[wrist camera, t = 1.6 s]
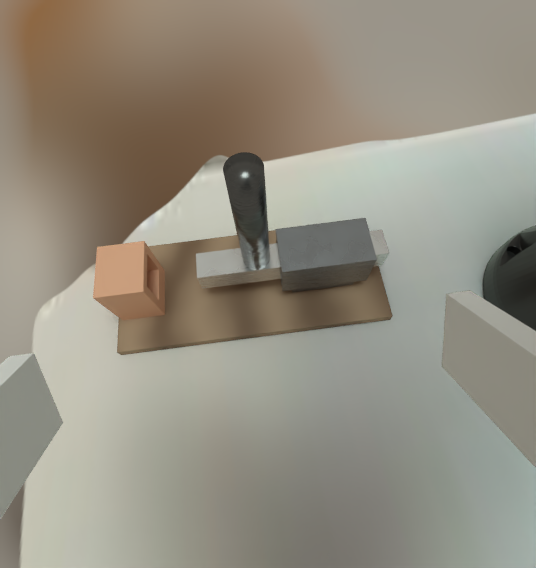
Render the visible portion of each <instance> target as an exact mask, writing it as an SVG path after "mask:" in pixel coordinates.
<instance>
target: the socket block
mask: <svg viewBox="0 0 536 568" xmlns="http://www.w3.org/2000/svg"><path fill="white" fill-rule="evenodd" d="M93 298H94V299H95V300H96V301H98V302H99V303H100V304H102V305H103V306H104V307H106V308H107V309H108V310H110V311H111V312H112V313H114V314H115V315H116V316H118V317H119V318H120V319H122V320H129V319H137V318H145V317H152V316H160V315H165V270H164V269H163V267H162V266H161V265H160V263H159V262H158V260H157V259H156V257H155V256H154V254H153V253H152V252H151V250H150V249H149V247H148V246H147V244H146V243H145V241H141V242H133V243H125V244H118V245H110V246H102V247H97V257H96V268H95V281H94V294H93Z"/></svg>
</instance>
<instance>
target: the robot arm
mask: <svg viewBox="0 0 536 568" xmlns="http://www.w3.org/2000/svg"><path fill="white" fill-rule="evenodd" d="M483 290H484V297H485V299H483V298H481V297H480V296H478V295H476V294H475V293H473V292H472V291H470V290H469V291H462V292H455V293H448V294H446V309H445V324H444V340H443V356H442V367H443V368H444V369H445V370H446V371H447V372H448V373H449V375H450V376H451V377H452V378H453V379H454V380H455V381H456V382H457V383H458V384H459V385H460V386H461V387H462V389H463V390H464V391H465V392H466V393H467V394H468V395H469V396H470V397H471V398H472V399H473V400H474V402H475V403H476V404H477V405H478V406H479V407H480V408H481V409H482V410H483V411H484V412H485V413H486V414H487V416H488V417H489V418H490V419H491V420H492V421H493V422H494V423H495V424H496V425H497V426H498V427H499V428H500V430H501V431H502V432H503V433H504V434H505V435H506V436H507V437H508V438H509V439H510V440H511V441H512V443H513V444H514V445H515V446H516V447H517V448H518V449H519V450H520V451H521V452H522V453H523V454H524V455H525V457H526V458H527V459H528V460H529V461H530V462H531V463H532V464H533V465H534V466H535V467H536V225H535V226H532V227H530V228H527V229H525V230H523V231H521V232H520V233H518V234H516V235H515V236H513V237H512V238H511V239H510V240H509V241H507V242H506V243H505V244H504V245H503V246H502V247H501V248H499V249H498V250H497V251H496V252H495V254H494V255H493V256H492V258H491V259H490V261H489V263H488V265H487V267H486V270H485V274H484V282H483ZM62 423H63V421H62V419H61V417H60V414H59V412H58V409H57V407H56V405H55V402H54V400H53V397H52V395H51V393H50V390H49V388H48V385H47V383H46V381H45V378H44V376H43V374H42V371H41V369H40V366H39V364H38V362H37V359H36V357H35V354H34V353H30V354H23V355H16V356H9V357H8V358H7V359H6V360H5V361H4V362H2V363H1V364H0V519H1V518H2V516H3V514H4V513H5V511H6V510H7V508H8V507H9V505H10V504H11V502H12V500H13V499H14V498H15V496H16V494H17V493H18V491H19V490H20V488H21V486H22V485H23V484H24V482H25V481H26V479H27V477H28V476H29V474H30V473H31V471H32V470H33V468H34V467H35V465H36V464H37V462H38V460H39V459H40V457H41V456H42V454H43V453H44V451H45V450H46V448H47V447H48V445H49V443H50V442H51V440H52V439H53V437H54V436H55V434H56V433H57V431H58V430H59V428H60V426H61V425H62Z"/></svg>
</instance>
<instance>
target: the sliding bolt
mask: <svg viewBox="0 0 536 568" xmlns="http://www.w3.org/2000/svg"><path fill="white" fill-rule="evenodd" d="M223 172H224V176H225V181H226V185H227V190H228V195H229V199H230V204H231V208H232V213H233V217H234V222H235V226H236V231H237V235H238V240H239V245H240V248H236V249H228V250H220V251H213V252H205V253H197V254H196V267H197V279H198V281H199V283H200V284H201V286H202V288H203V289H204V288H212V287H220V286H228V285H235V284H243V283H251V282H259V281H266V280H274V279H282V269H281V263H280V256H279V250H278V243H275V244H269V235H268V220H267V205H266V191H265V176H264V164H263V162H262V160H261V159H260V158H259V157H258V156H256V155H254V154H252V153H238V154H235V155H233V156H231V157H230V158H228V159H227V161H226V162H225V164H224V167H223ZM369 232H370V236H371V240H372V243H373V247H374V250H375V254H376V257H377V261H376V263H375V265H374V267H375V266H382V265H383V263H384V261H385V260H386V258H387V256H388V254H389V251H388V248H387V245H386V241H385V238H384V234H383V231H382V230H377V231H369Z"/></svg>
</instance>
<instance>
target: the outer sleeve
mask: <svg viewBox="0 0 536 568" xmlns="http://www.w3.org/2000/svg"><path fill="white" fill-rule="evenodd" d="M276 243H278V250H279V256H280V263H281V269H282V279H281V286H282V291H288V290H292V293H293V292H300V291H308V290H316V289H323V288H331V287H339V286H346V285H353V283H354V282H357V281H365V280H367V278H368V276H369V274H370V272H371V270H372V269H373V267H374V265H375V263H376V261H377V257H376V254H375V250H374V247H373V243H372V240H371V236H370V232H369V229H368V225H367V222H366V218H361V219H353V220H345V221H337V222H329V223H321V224H313V225H305V226H298V227H290V228H282V229H276Z"/></svg>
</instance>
